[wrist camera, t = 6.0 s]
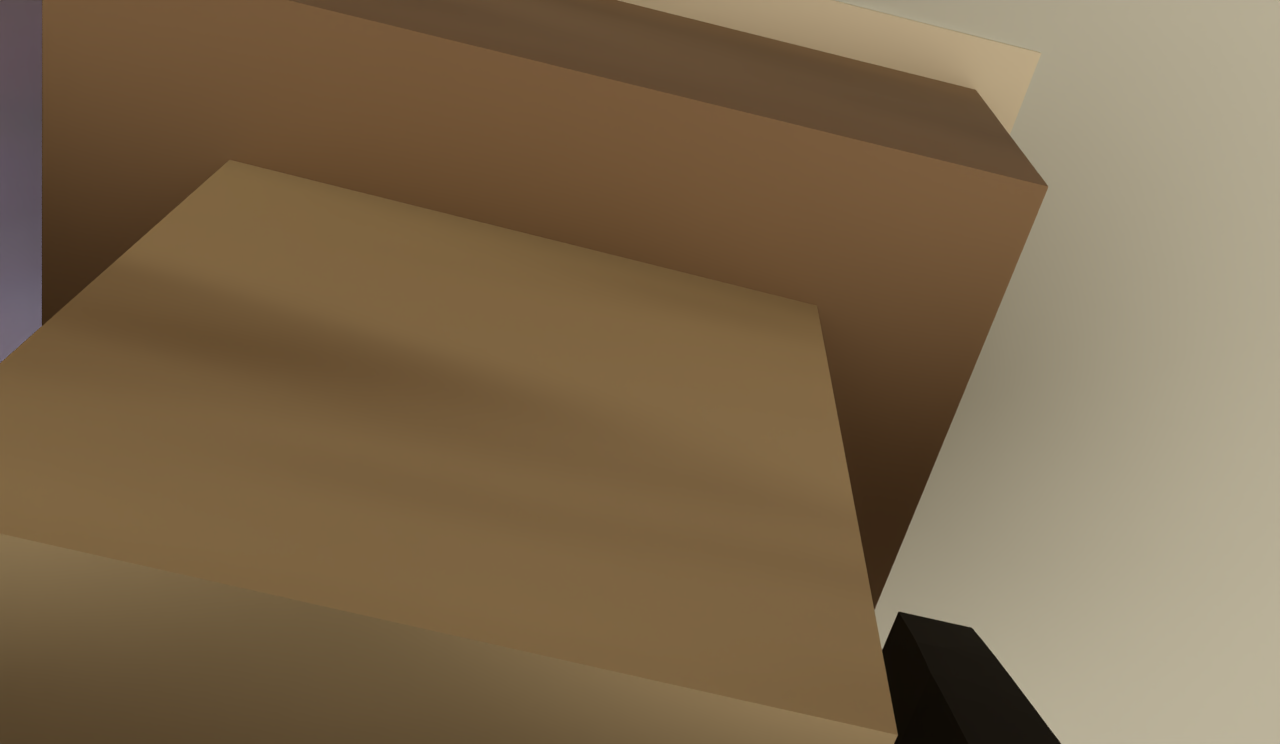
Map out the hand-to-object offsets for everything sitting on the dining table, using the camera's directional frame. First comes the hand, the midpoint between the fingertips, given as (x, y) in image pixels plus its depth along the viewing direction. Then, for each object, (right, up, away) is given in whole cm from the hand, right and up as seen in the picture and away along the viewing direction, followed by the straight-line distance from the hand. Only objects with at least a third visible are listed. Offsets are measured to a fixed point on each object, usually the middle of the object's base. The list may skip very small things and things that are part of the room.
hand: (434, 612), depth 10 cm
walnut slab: (0, +2, +4) cm, 5 cm away
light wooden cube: (0, +1, +2) cm, 2 cm away
